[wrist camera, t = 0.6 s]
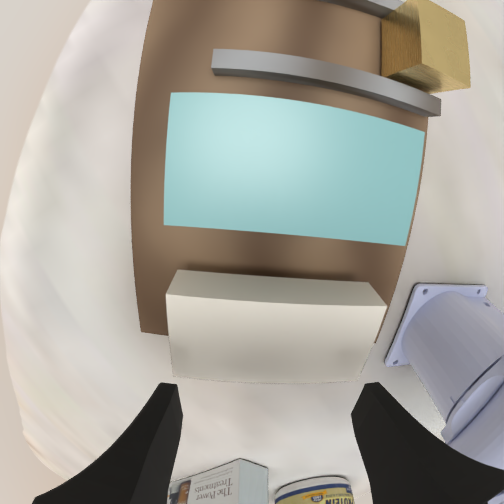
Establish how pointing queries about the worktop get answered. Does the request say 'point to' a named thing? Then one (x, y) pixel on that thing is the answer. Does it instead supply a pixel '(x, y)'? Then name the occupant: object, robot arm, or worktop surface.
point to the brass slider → (425, 47)
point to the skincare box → (223, 486)
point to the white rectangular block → (270, 328)
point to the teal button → (289, 168)
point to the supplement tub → (316, 492)
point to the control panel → (268, 85)
